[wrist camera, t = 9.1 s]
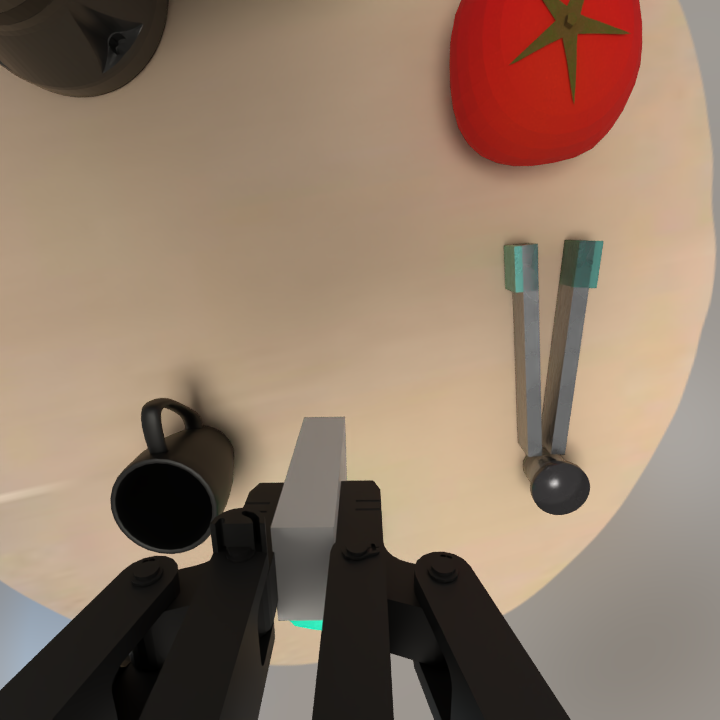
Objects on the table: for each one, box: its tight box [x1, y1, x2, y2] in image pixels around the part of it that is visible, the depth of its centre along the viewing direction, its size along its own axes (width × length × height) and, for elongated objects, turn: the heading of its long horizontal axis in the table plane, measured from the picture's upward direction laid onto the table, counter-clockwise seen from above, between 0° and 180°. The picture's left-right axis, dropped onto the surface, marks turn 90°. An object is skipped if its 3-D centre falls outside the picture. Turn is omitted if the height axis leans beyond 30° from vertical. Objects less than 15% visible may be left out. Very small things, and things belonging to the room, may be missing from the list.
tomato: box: [450, 0, 642, 166], centre depth 32 cm, size 12×13×11 cm
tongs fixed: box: [523, 240, 603, 515], centre depth 41 cm, size 23×5×5 cm, turn 179°
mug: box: [111, 398, 234, 554], centre depth 41 cm, size 8×12×10 cm
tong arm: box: [504, 243, 542, 457], centre depth 41 cm, size 18×2×3 cm, turn 7°
